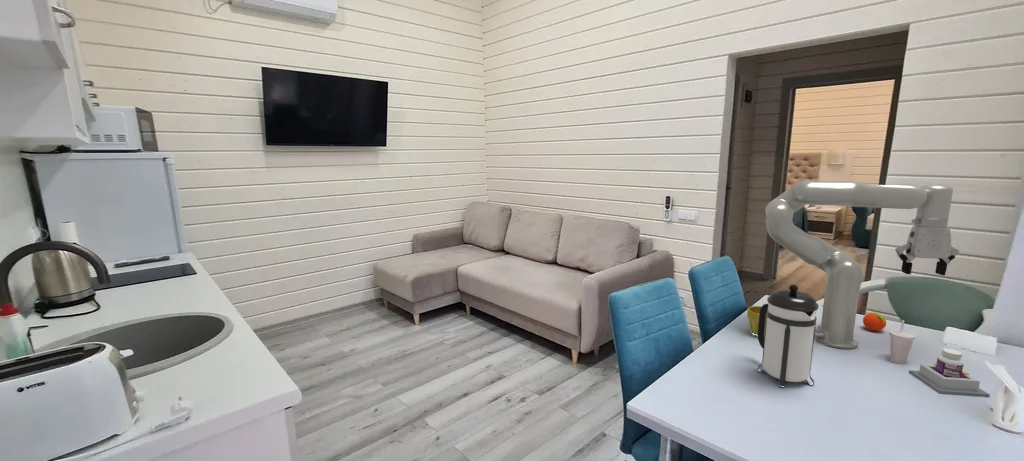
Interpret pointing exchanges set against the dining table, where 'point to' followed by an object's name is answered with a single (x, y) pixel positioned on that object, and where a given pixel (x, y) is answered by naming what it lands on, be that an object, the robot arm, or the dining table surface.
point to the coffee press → (788, 334)
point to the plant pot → (754, 318)
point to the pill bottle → (950, 363)
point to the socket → (949, 382)
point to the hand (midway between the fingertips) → (923, 273)
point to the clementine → (874, 321)
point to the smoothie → (900, 344)
